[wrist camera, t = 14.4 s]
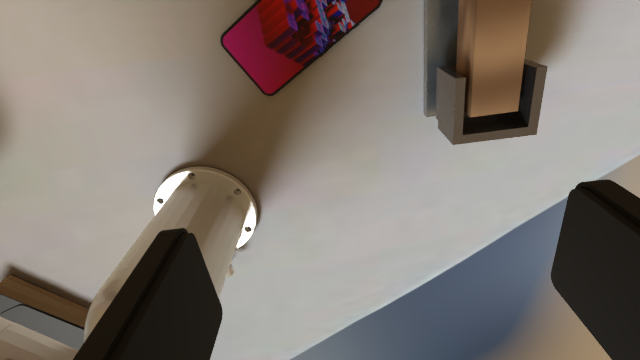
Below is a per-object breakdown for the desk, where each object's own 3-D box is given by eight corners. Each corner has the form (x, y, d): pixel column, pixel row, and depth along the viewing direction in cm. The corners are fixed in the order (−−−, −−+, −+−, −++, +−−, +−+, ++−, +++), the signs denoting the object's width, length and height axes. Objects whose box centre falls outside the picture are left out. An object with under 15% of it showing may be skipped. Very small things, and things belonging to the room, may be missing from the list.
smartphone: (215, 39, 35) (336, -78, 30) (218, 38, 35) (336, -76, 31) (268, 100, 37) (386, 1, 33) (270, 97, 38) (385, 1, 34)
